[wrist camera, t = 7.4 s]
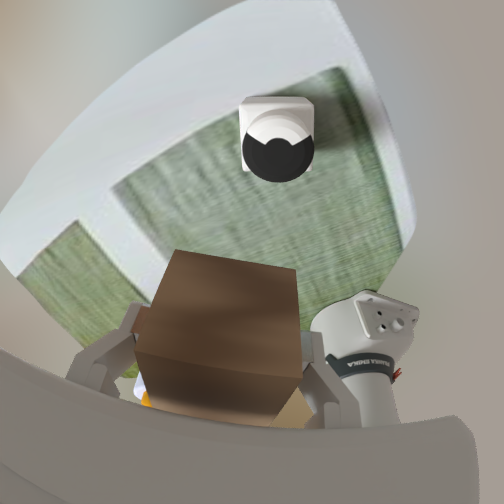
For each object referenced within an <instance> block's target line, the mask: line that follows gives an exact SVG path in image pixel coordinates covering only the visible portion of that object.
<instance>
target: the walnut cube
mask: <svg viewBox="0 0 504 504" xmlns="http://www.w3.org/2000/svg"><path fill="white" fill-rule="evenodd" d="M134 354H135V357H136V360H137V363H138V367H139V370H140V373H141V376H142V379H143V382H144V385H145V388H146V391H147V394H148V397H149V399H150V402H151V405H152V408H156V409H160V410H164V411H168V412H173V413H177V414H182V415H187V416H192V417H197V418H203V419H209V420H215V421H221V422H228V423H236V424H244V425H253V426H264V427H269V426H270V424H271V423H272V422H273V420H274V419H275V418H276V416H277V415H278V414H279V412H280V410H281V409H282V408H283V407H284V405H285V404H286V402H287V401H288V399H289V398H290V397H291V395H292V394H293V392H294V391H295V389H296V388H297V386H298V385H299V383H300V382H301V380H302V379H303V368H302V350H301V333H300V318H299V304H298V292H297V279H296V270H295V269H289V268H283V267H277V266H271V265H265V264H259V263H253V262H247V261H241V260H235V259H229V258H223V257H217V256H211V255H206V254H200V253H194V252H188V251H182V250H177V249H175V251H174V253H173V255H172V257H171V260H170V262H169V264H168V266H167V269H166V271H165V273H164V276H163V278H162V280H161V282H160V285H159V287H158V290H157V292H156V294H155V297H154V299H153V301H152V304H151V306H150V309H149V311H148V314H147V316H146V319H145V321H144V324H143V326H142V329H141V331H140V334H139V337H138V339H137V342H136V345H135V347H134Z"/></svg>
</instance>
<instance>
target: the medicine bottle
mask: <svg viewBox="0 0 504 504" xmlns="http://www.w3.org/2000/svg"><path fill="white" fill-rule="evenodd" d="M239 118H240V134H241V151H242V168H243V170H244V171H252V172H253V173H254V174H255V175H256V176H258V177H260V178H262V179H264V180H266V181H270V182H287V181H291V180H293V179H296V178H297V177H299V176H300V175H302V174H303V173H304V172H305V171H311V170H312V168H313V156H314V143H313V141H314V105H313V104H312V103H311V102H310V101H309V100H307V99H306V98H305V97H247V98H245V99H244V101H243V102H242V103H241V104H240V105H239Z"/></svg>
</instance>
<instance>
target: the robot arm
mask: <svg viewBox="0 0 504 504" xmlns="http://www.w3.org/2000/svg"><path fill="white" fill-rule="evenodd" d="M150 306H151V305H149V304H145V303H141V302H137V301H132V302H131V303H130V305H129V307H128V309H127V311H126V313H125V315H124V318H123V320H122V322H121V324H120V326H119V329H114V330H112V331H111V332H109V333H108V334H106V335H105V336H103V337H102V338H100V339H99V340H97V341H96V342H94V343H93V344H91V345H90V346H88V347H87V348H85V349H84V350H82V351H81V352H79V353H78V354H76V356H75V358H74V360H73V362H72V364H71V366H70V369H69V371H68V373H67V375H66V378H62V377H60V376H57V375H55V374H53V373H51V372H48V371H46V370H44V369H42V368H40V367H38V366H36V365H33V364H31V363H29V362H27V361H25V360H23V359H21V358H20V357H18V356H16V355H14V354H12V353H10V352H8V351H7V350H5V349H3V348H1V347H0V504H479V468H478V459H477V451H476V445H475V440H474V436H473V434H472V432H471V430H470V429H469V428H468V427H467V426H466V425H465V424H464V423H463V421H462V420H461V419H459V418H458V417H457V416H455V415H452V416H445V417H441V418H435V419H430V420H424V421H418V422H411V423H404V424H401V422H400V420H399V417H398V413H397V409H396V404H395V400H394V396H393V391H392V387H391V384H393V383H394V382H395V379H396V378H397V377H398V376H399V375H400V374H401V373H402V372H400V373H399V371H400V369H401V368H399V369H398V370H397V371H396V372H395V373H393V372H394V365H395V364H396V363H397V362H398V361H399V360H400V359H401V358H402V356H403V355H404V354H405V353H406V352H407V350H408V349H409V348H410V346H411V344H412V341H413V337H414V333H413V328H414V326H415V325H416V323H417V321H418V318H419V309H418V308H417V307H414V306H412V305H409V304H406V303H403V302H400V301H397V300H395V299H392V298H389V297H386V296H384V295H381V294H378V293H375V292H372V291H370V290H364V291H361V292H359V293H358V294H356V295H354V296H353V297H351V298H349V299H346V300H343V301H339V302H337V303H334V304H332V305H330V306H328V307H326V308H325V309H323V310H322V311H320V312H319V313H318V314H317V315H316V316H315V318H314V319H313V321H312V323H311V327H310V330H311V331H308V330H300V333H301V350H302V368H303V379H302V380H301V382H300V383H299V385H298V388H299V389H300V391H301V393H302V394H303V396H304V398H305V399H306V401H307V403H308V404H309V406H310V408H311V409H312V411H313V413H314V415H313V416H312V417H311V418H310V419H309V420H308V421H307V422H306V423H305V429H296V428H278V427H277V428H276V427H264V426H253V425H244V424H236V423H228V422H221V421H215V420H209V419H203V418H197V417H192V416H187V415H182V414H177V413H173V412H168V411H164V410H160V409H156V408H152V407H148V406H144V405H140V404H137V403H133V402H130V401H126V400H123V399H120V398H119V396H120V393H119V391H118V389H117V387H116V385H115V383H114V381H115V380H116V379H117V378H118V377H119V376H120V375H122V374H123V373H124V372H125V371H126V370H127V369H128V368H130V367H131V366H132V365H133V364H134V363H135V362H136V361H137V360H136V357H135V354H134V347H135V345H136V342H137V339H138V337H139V334H140V331H141V329H142V326H143V324H144V321H145V319H146V316H147V314H148V311H149V309H150ZM398 373H399V374H398Z"/></svg>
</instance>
